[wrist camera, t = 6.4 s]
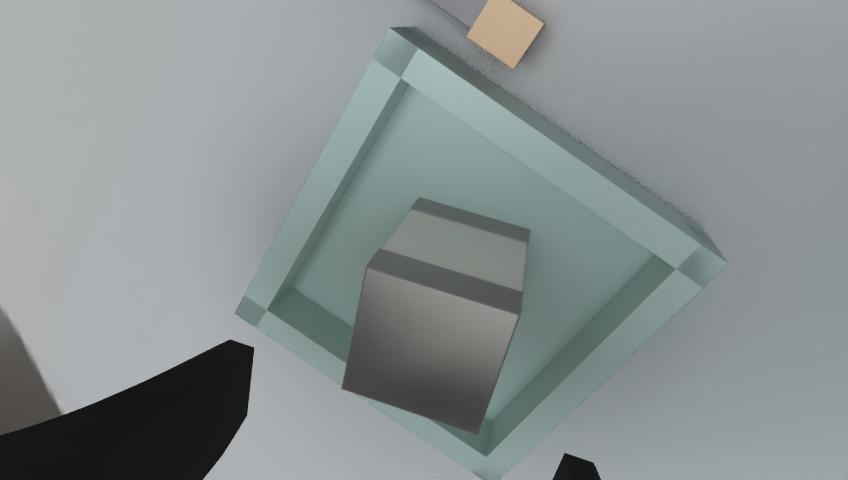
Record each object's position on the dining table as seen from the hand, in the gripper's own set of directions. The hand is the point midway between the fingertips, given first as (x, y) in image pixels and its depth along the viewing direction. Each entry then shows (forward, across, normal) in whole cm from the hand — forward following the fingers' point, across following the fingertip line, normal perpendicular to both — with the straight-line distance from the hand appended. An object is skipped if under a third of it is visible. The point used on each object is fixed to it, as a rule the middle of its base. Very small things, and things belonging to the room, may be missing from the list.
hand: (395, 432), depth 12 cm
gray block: (+9, 0, 0) cm, 9 cm away
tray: (+10, 0, 0) cm, 10 cm away
